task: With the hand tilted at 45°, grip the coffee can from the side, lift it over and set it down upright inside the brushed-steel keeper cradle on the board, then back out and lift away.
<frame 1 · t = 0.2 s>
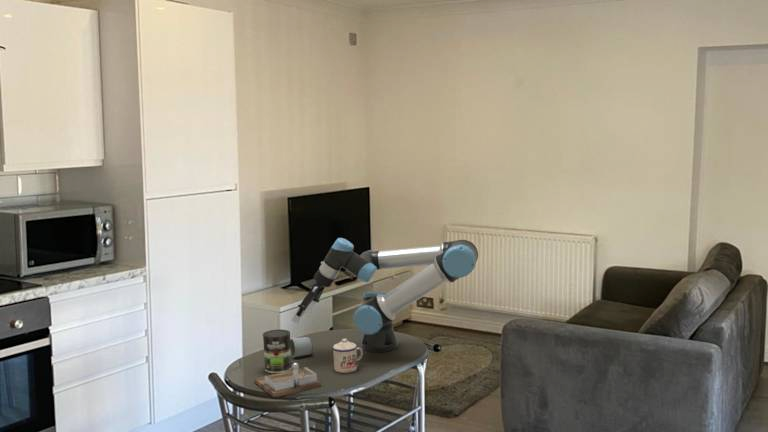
hand: (299, 317, 305), 16 cm above the table, tool tilted 35°, fingers open, 13 cm apart
teacup with lid: (349, 368, 290), on the table
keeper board: (287, 384, 275), on the table
keeper cradle: (291, 371, 271), on the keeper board, point 6 cm above the table
ceramic mug: (299, 355, 308), on the table
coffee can: (278, 369, 292), on the table
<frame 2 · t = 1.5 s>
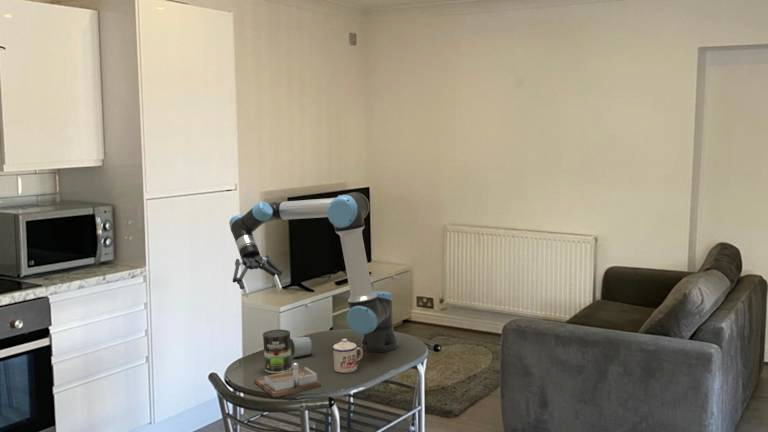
hand: (263, 292, 298), 28 cm above the table, tool tilted 45°, fingers open, 13 cm apart
nothing on the table moved.
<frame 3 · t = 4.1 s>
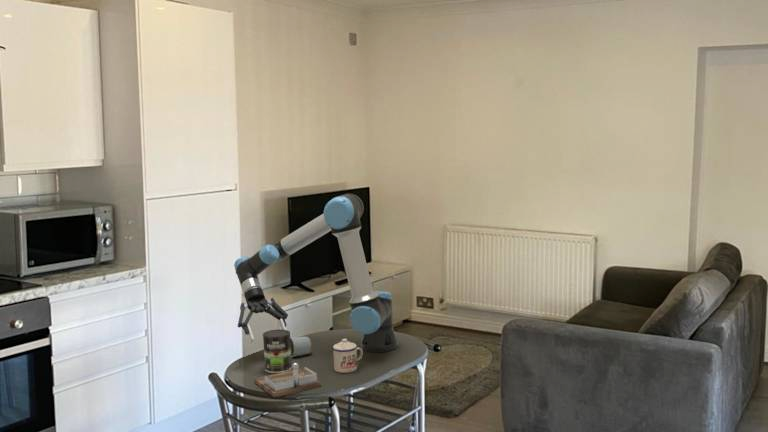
hand: (269, 337, 295), 11 cm above the table, tool tilted 45°, fingers open, 13 cm apart
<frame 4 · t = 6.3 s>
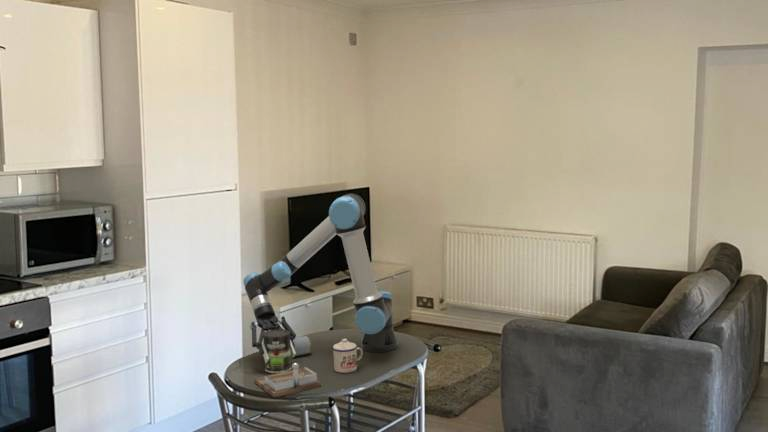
hand: (280, 358, 289), 5 cm above the table, tool tilted 45°, fingers closed on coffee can, 10 cm apart
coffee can: (278, 369, 292), on the table, touching gripper
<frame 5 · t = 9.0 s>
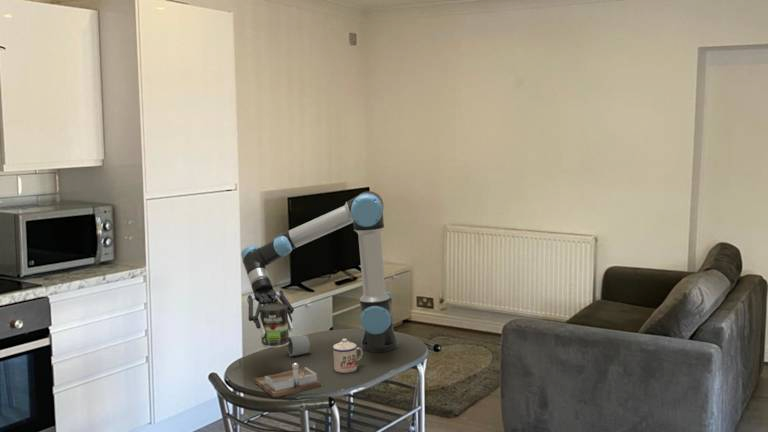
hand: (277, 332, 282), 17 cm above the table, tool tilted 45°, fingers closed on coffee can, 10 cm apart
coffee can: (275, 344, 285), point 11 cm above the table, touching gripper
when the fingers open (8 cm above the table, at t = 12.0 s): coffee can drops 2 cm, resting on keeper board.
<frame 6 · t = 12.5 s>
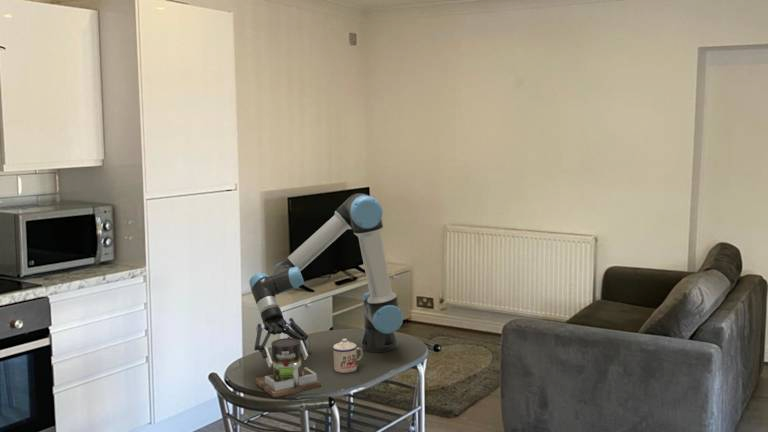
hand: (288, 361, 272), 9 cm above the table, tool tilted 45°, fingers open, 13 cm apart
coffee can: (288, 380, 275), point 1 cm above the table, touching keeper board
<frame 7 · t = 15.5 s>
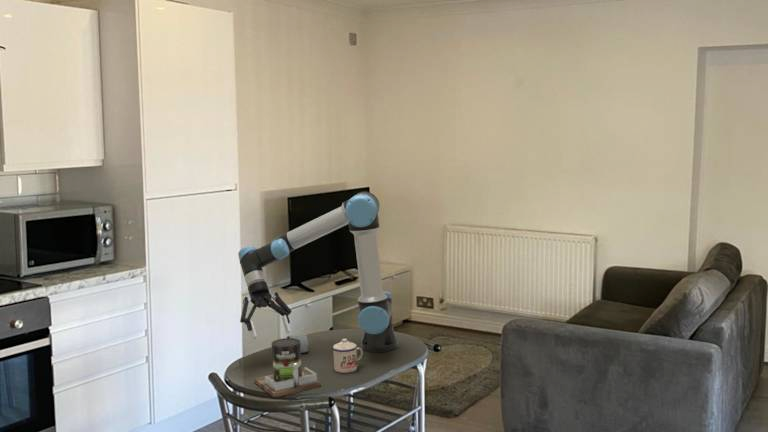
hand: (271, 335, 288), 14 cm above the table, tool tilted 35°, fingers open, 13 cm apart
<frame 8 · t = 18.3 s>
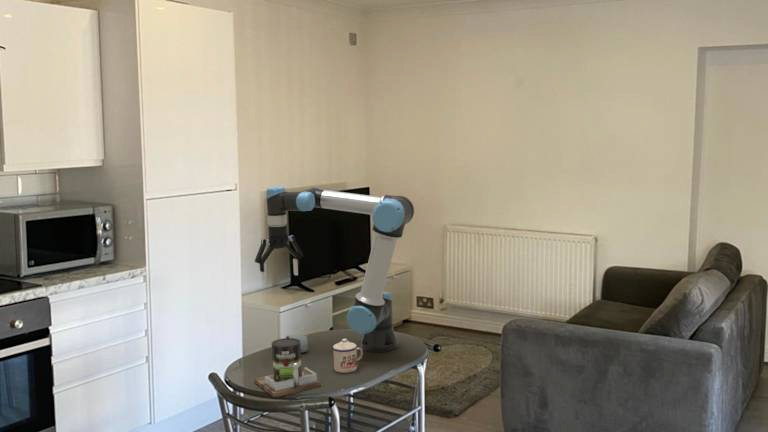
hand: (280, 277, 311), 31 cm above the table, tool pointing down, fingers open, 13 cm apart
at the end: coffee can 0.4 cm off-centre on the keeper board, point 1.3 cm above the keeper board's base; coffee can tilted 0°; the gripper is holding nothing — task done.
